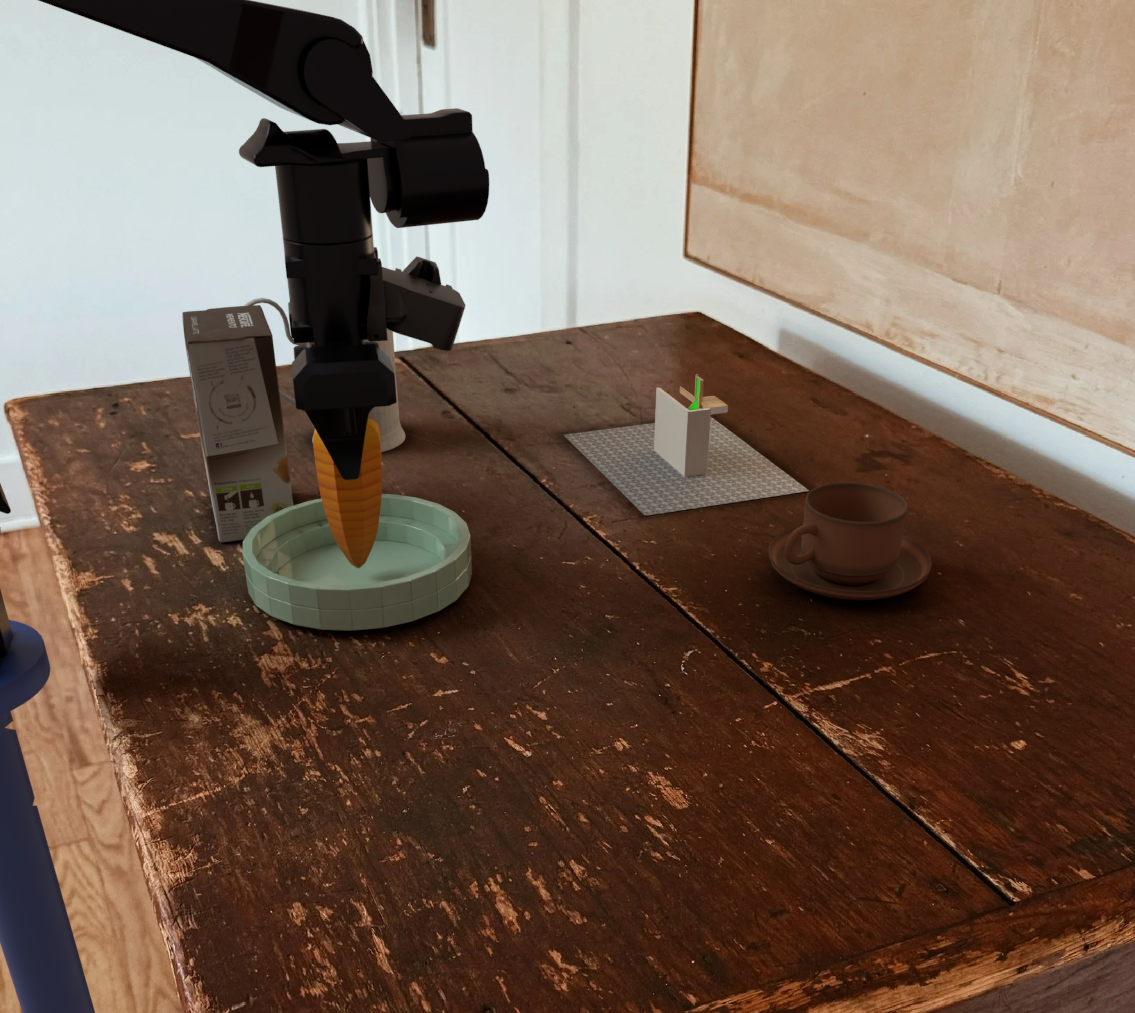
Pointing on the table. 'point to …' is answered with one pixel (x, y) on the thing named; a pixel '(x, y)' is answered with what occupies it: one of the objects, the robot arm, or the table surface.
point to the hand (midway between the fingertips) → (349, 465)
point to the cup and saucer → (851, 545)
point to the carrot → (352, 497)
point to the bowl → (358, 595)
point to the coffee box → (238, 415)
